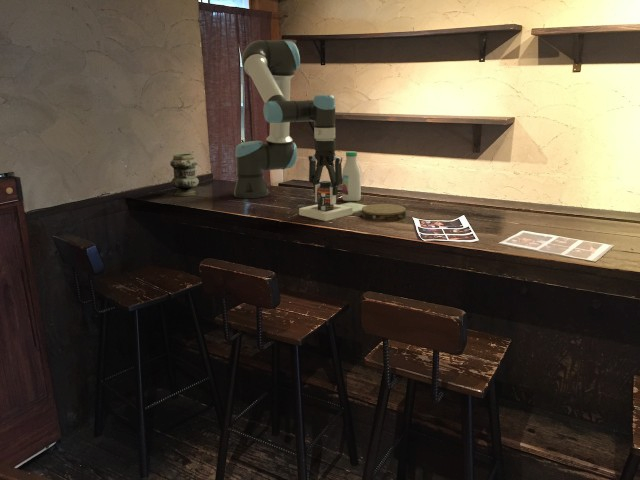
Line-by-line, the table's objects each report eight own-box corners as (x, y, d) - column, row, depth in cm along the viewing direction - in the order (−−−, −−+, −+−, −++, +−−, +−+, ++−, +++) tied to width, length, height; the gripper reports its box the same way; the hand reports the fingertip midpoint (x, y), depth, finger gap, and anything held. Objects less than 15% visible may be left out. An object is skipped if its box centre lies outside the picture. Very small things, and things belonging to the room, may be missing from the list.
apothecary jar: (196, 196, 234) (192, 155, 229) (169, 196, 234) (165, 156, 229) (202, 191, 246) (199, 152, 241) (176, 191, 246) (173, 152, 241)
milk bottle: (360, 198, 225) (361, 150, 220) (360, 201, 218) (360, 153, 212) (342, 197, 226) (342, 150, 220) (341, 201, 218) (341, 153, 213)
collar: (299, 214, 197) (299, 208, 196) (326, 208, 206) (325, 202, 206) (325, 221, 187) (325, 214, 187) (352, 214, 197) (352, 207, 196)
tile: (329, 208, 206) (329, 207, 206) (350, 203, 214) (350, 202, 214) (352, 213, 198) (352, 211, 198) (373, 208, 206) (373, 206, 206)
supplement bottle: (326, 214, 193) (325, 183, 189) (314, 211, 197) (313, 181, 193) (337, 211, 197) (336, 181, 194) (325, 209, 201) (324, 179, 198)
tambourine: (371, 210, 204) (371, 202, 203) (411, 213, 197) (411, 205, 196) (355, 219, 190) (355, 211, 190) (397, 223, 184) (397, 215, 183)
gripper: (297, 139, 192) (299, 201, 198) (341, 141, 181) (341, 207, 187) (310, 137, 197) (311, 198, 204) (352, 139, 187) (352, 203, 193)
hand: (325, 202), depth 196 cm, fingers closed on supplement bottle, 6 cm apart
